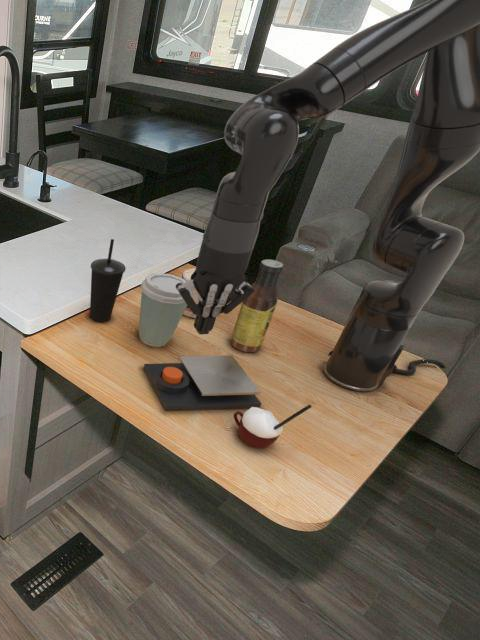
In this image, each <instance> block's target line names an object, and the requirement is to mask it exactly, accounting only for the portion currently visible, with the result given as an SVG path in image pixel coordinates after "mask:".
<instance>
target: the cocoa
mask: <svg viewBox="0 0 480 640" xmlns="http://www.w3.org/2000/svg"><path fill="white" fill-rule="evenodd" d="M311 408H312V404H307V405H306V406H304V407H302V408H301V409H299V410H298V411H296V412H295V413H293V414H292V415H290V416H289V417H287V418H286V419H284V420H282V421H281V422H280V421H279V420H277V417H276V416H275V415H274V414H273V413H272V411H269V410H266V409H265V408H264V409H263V408H258V407H251V408H250V409H246V411H245V412H244V413H243V412H242V411H235V412H234V414H233V419H234V422H235V424H236V425H237V427H238V428H237V433H238V435H239V438H240V440H241V441H242V442H243V443H245V444H246V445H248V446H250V447H252V448H255V449H265V448H268V447H270V446H271V445H273V444H274V443H275V442H276V441H277V440H278V438H279V437H280V435H281V433H282V432H283V426H284V425H286V424H287V423H289V422H290V421H292V420H293V419H295V418H297V417H299V416H300V415H301V414H304V413H305V412H307V411H308V410H310V409H311ZM238 415H239V416H240V420H239V418H238Z"/></svg>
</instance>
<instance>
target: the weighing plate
mask: <svg viewBox="0 0 480 640" xmlns="http://www.w3.org/2000/svg"><path fill="white" fill-rule="evenodd" d="M178 361H179V363H181V364H182V365H183V367H184V368H185V370H186V372H187V373H188V375H189V376H190V378H191V380H192V381H193V383H194V384H195V386H196V388H197V389H198V391H199V392H200V394H201V396H218V395H253V394H255V395H260V394H261V391H260V389H259V387H257V385H256V383H254V381H253V380H252V379H251V377H250V376H249V375H248V374H247V371H245V370H244V368H243V366H241V365H240V363H239V362H238V361H237V360H236V358H235V357H234V355H232V354H229V355H228V354H226V355H222V354H221V355H194V356H193V355H191V356H190V355H189V356H186V355H185V356H178Z"/></svg>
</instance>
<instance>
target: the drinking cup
mask: <svg viewBox="0 0 480 640" xmlns="http://www.w3.org/2000/svg"><path fill="white" fill-rule="evenodd" d="M109 242H110V243H109V248H108V255H107V258H99V259H95V260H93V261H92V262H91V264H90V270H91V278H90V297H89V298H90V303H89V318H90V320H91V321H93V322H95V323H102V324H103V323H107V322H110V320H111V317H112V314H113V311H114V307H115V304H116V299H117V298H118V297H117V296H118V293H119V289H120V287H121V282H122V279H123V275H124V273H125V272H126V269H127V268H126V266H125V264H124V263H123V262H121V261H119V260H116V259H113V258H112V255H113V249H114V244H115V243H114V242H115V239H114V238H111V239H110V241H109Z"/></svg>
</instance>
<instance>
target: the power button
mask: <svg viewBox="0 0 480 640" xmlns="http://www.w3.org/2000/svg"><path fill="white" fill-rule="evenodd" d="M182 376H183V373H182V371H181V370H179V369H178V368H175V367H166V368H164V370H163V373H162V379H163V380H164V381H166V382H168V383H171V384H179V383H180V382H181V379H182Z"/></svg>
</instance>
